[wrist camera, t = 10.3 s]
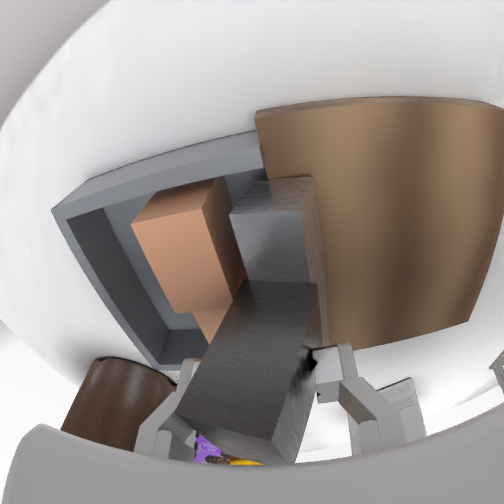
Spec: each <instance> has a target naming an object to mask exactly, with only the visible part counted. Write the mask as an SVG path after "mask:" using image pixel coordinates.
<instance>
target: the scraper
mask: <svg viewBox="0 0 504 504" xmlns="http://www.w3.org/2000/svg"><path fill="white" fill-rule="evenodd" d="M229 217H230V221H231V224H232V227H233V230H234V233H235V237H236V240H237V243H238V246H239V250H240V253H241V256H242V259H243V262H244V266H245V269H246V272H247V275H248V278H249V280H243V282H242V283H241V285H240V287H239V289H238V291H237V293H236V295H235V297H234V299H233V301H232V303H231V305H230V307H229V308H228V310H227V312H226V314H225V316H224V318H223V320H222V322H221V324H220V326H219V328H218V330H217V331H216V333H215V335H214V337H213V339H212V341H211V343H210V345H209V347H208V349H207V351H206V352H205V354H204V356H203V358H202V360H201V362H200V364H199V366H198V368H197V370H196V372H195V373H194V375H193V377H192V379H191V381H190V383H189V385H188V387H187V389H186V391H185V392H184V394H183V396H182V398H181V400H180V402H179V404H178V406H177V408H176V410H175V411H174V413H175V414H176V415H178V416H179V417H180V418H181V419H182V420H183V421H185V422H186V423H187V424H188V425H189V426H190V427H192V428H193V429H194V430H195V431H197V432H198V433H199V434H200V435H201V436H203V437H204V438H205V439H207V440H208V441H209V442H210V443H212V444H213V445H214V446H216V447H217V448H218V449H220V450H221V451H222V452H224V453H225V454H228V455H231V456H234V457H238V458H241V459H245V460H249V461H252V462H256V463H260V464H265V465H276V464H293V463H295V461H296V458H297V455H298V451H299V448H300V445H301V442H302V438H303V435H304V432H305V428H306V425H307V421H308V418H309V414H310V410H311V407H312V403H313V399H314V395H315V391H316V380H315V371H314V361H313V350H312V348H317V347H323V346H329V343H330V339H329V320H328V305H327V291H326V279H325V268H324V258H323V248H322V239H321V230H320V222H319V214H318V207H317V199H316V192H315V185H314V179H313V176H311V177H295V178H281V179H268V180H257V181H255V182H254V183H253V185H252V186H251V187H250V188H249V190H248V191H247V192H246V193H245V195H244V196H243V197H242V199H241V200H240V201H239V202H238V204H237V205H236V206H235V207H234V209H233V210H232V211H231V212H230V214H229Z"/></svg>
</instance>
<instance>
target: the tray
mask: <svg viewBox="0 0 504 504" xmlns="http://www.w3.org/2000/svg"><path fill="white" fill-rule="evenodd" d="M223 175H224V177H225V181H226V184H227V188H228V192H229V195H230V199H231V203H232V206H233V209H234V207H235V206H236V205H237V204H238V202H239V201H240V200H241V199H242V197H243V196H244V195H245V193H246V192H247V191H248V190H249V188H250V187H251V186H252V185H253V183H254V182H255V181H257V180H268V178H267V173H266V168H265V164H264V159H263V154H262V150H261V145H260V141H259V137H258V132H257V130H255V131H250V132H245V133H240V134H236V135H231V136H227V137H222V138H218V139H214V140H210V141H206V142H202V143H198V144H194V145H190V146H187V147H183V148H180V149H176V150H173V151H169V152H166V153H163V154H159V155H156V156H153V157H150V158H147V159H144V160H141V161H138V162H135V163H132V164H129V165H126V166H123V167H120V168H118V169H115V170H112V171H109V172H107V173H104V174H102V175H99V176H96V177H94V178H91V179H89V180H87V181H85V182H84V183H83V184H82V185H80V186H79V187H78V188H76V189H75V190H74V191H73V192H71V193H70V194H69V195H68V196H67V197H65V198H64V199H63V200H62V201H61V202H59V203H58V204H57V205H56V206H55V207H53V208H52V209H51V212H52V214H53V216H54V218H55V220H56V222H57V224H58V226H59V228H60V230H61V232H62V234H63V236H64V238H65V240H66V241H67V243H68V245H69V247H70V249H71V250H72V252H73V254H74V256H75V258H76V259H77V261H78V263H79V264H80V266H81V268H82V269H83V271H84V273H85V274H86V276H87V278H88V279H89V281H90V282H91V284H92V286H93V287H94V289H95V290H96V292H97V293H98V295H99V296H100V298H101V299H102V301H103V302H104V304H105V305H106V307H107V308H108V310H109V311H110V312H111V314H112V315H113V317H114V318H115V319H116V321H117V322H118V324H119V325H120V326H121V328H122V329H123V330H124V332H125V333H126V334H127V336H128V337H129V338H130V340H131V341H132V342H133V343H134V345H135V346H136V347H137V349H138V350H139V351H140V352H141V354H142V355H143V356H144V357H145V358H146V360H147V361H148V362H149V363H150V364H151V366H152V367H153V368H154V369H155V370H181V367H182V363H183V361H184V359H190V358H203V356H204V354H205V352H206V351H207V349H208V347H209V343H208V341H207V339H206V338H205V336H204V334H203V332H202V330H201V328H200V326H199V324H198V323H197V321H196V319H195V317H194V315H193V313H192V312H190V313H178V314H176V313H175V312H174V310H173V308H172V306H171V304H170V303H169V301H168V299H167V297H166V295H165V293H164V291H163V290H162V288H161V286H160V284H159V282H158V280H157V278H156V276H155V274H154V272H153V270H152V268H151V266H150V264H149V262H148V260H147V258H146V256H145V254H144V252H143V250H142V248H141V246H140V244H139V242H138V239H137V237H136V235H135V233H134V231H133V229H132V226H131V223H132V222H133V221H134V219H135V218H136V217H137V215H138V214H139V213H140V212H141V210H142V209H143V208H144V206H145V205H146V204H147V203H148V201H149V200H150V199H151V198H152V197H153V195H154V194H155V193H156V192H157V191H160V190H164V189H168V188H172V187H176V186H180V185H184V184H188V183H192V182H197V181H201V180H205V179H210V178H214V177H219V176H223ZM241 268H245V266H244V262H243V259H242V261H241Z"/></svg>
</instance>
